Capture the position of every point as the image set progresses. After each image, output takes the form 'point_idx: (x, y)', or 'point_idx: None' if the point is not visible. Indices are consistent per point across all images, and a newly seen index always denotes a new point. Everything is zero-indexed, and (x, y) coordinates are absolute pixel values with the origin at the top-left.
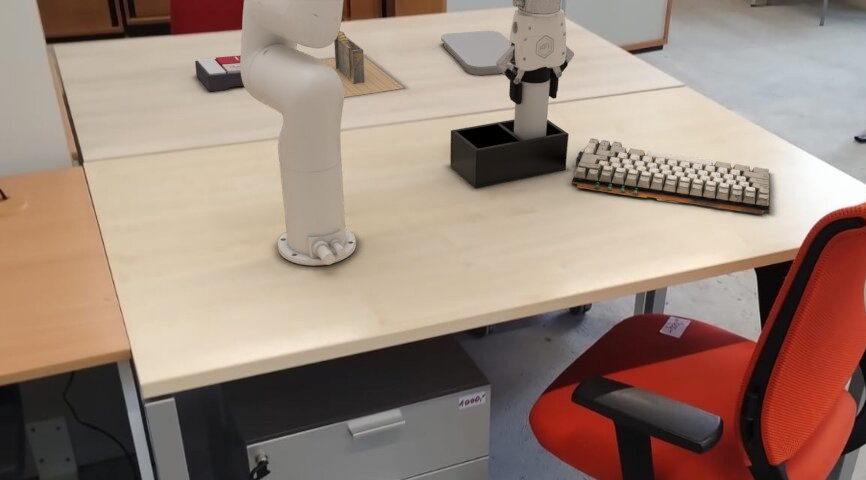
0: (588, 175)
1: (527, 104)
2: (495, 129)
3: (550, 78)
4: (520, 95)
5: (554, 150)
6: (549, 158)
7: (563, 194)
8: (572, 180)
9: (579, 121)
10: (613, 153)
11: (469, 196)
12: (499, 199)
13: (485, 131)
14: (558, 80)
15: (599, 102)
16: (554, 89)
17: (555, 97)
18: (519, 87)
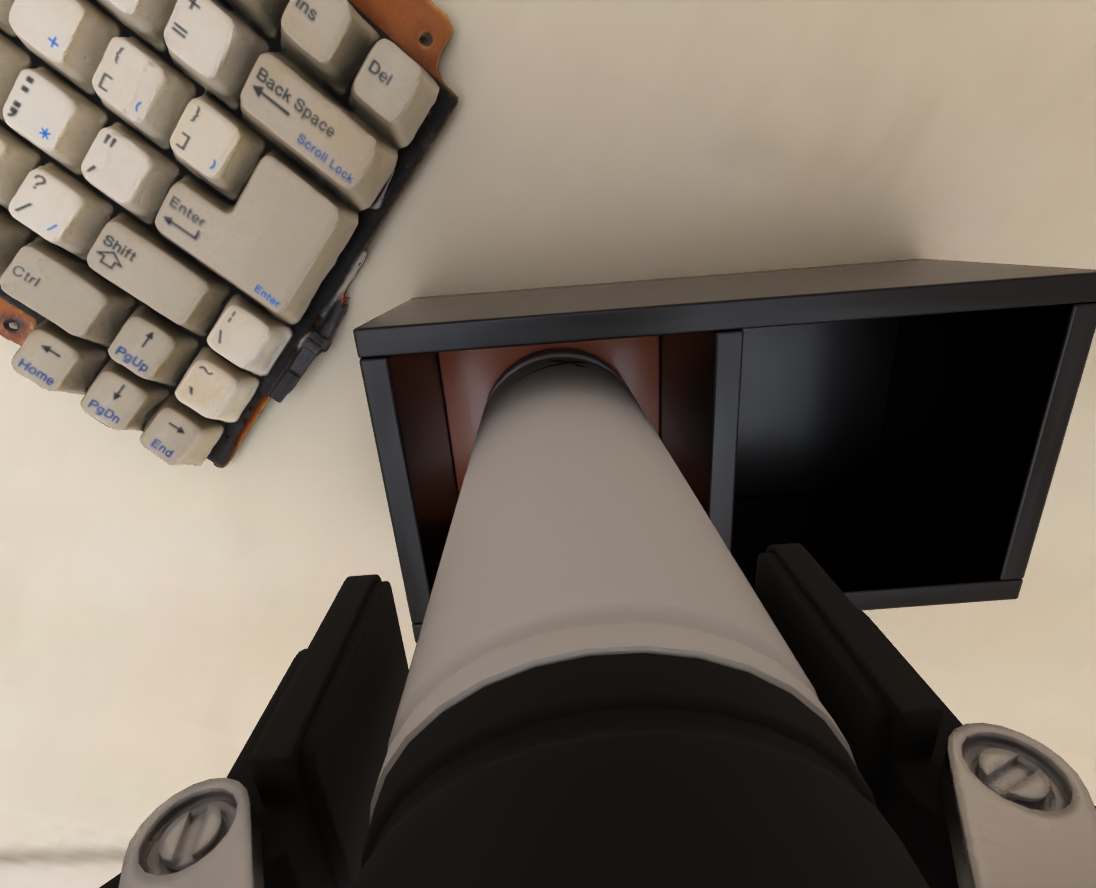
0: (361, 19)
1: (705, 522)
2: None
3: (342, 806)
4: (826, 596)
5: (475, 307)
6: (509, 299)
7: (551, 8)
8: (447, 110)
9: (166, 710)
10: (99, 243)
11: (999, 184)
12: (894, 89)
13: None
14: (240, 754)
15: (30, 824)
16: (348, 640)
17: (357, 578)
18: (910, 671)
